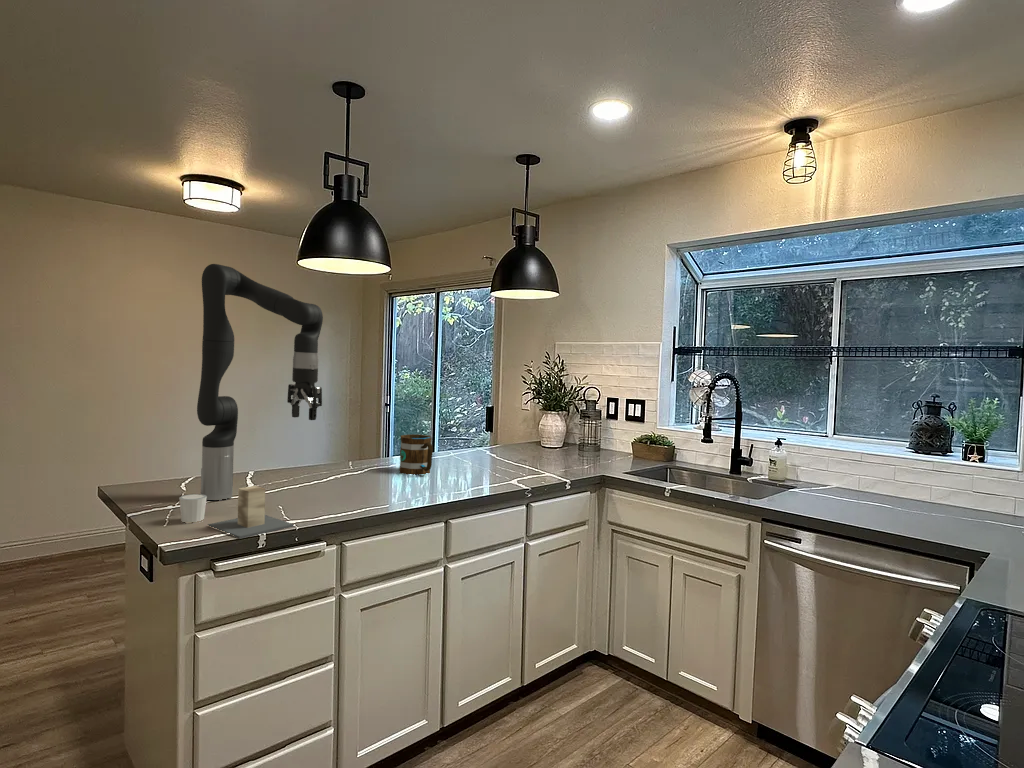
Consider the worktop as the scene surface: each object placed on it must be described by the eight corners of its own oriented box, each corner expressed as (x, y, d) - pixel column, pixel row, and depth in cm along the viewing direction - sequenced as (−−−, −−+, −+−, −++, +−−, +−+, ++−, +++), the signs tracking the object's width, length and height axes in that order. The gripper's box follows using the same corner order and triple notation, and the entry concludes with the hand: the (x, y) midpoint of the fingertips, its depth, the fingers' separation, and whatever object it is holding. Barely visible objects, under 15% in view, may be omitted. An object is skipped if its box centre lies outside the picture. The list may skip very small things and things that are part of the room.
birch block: (237, 524, 167) (238, 488, 167) (254, 520, 171) (255, 485, 171) (247, 527, 164) (248, 491, 164) (264, 524, 169) (265, 488, 168)
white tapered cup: (210, 518, 174) (211, 494, 174) (199, 524, 167) (199, 499, 167) (186, 517, 174) (186, 493, 173) (173, 523, 167) (174, 498, 167)
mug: (392, 470, 255) (394, 435, 255) (420, 467, 264) (422, 433, 263) (415, 479, 240) (416, 441, 239) (444, 476, 248) (445, 440, 248)
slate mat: (207, 526, 166) (207, 524, 166) (260, 515, 179) (260, 513, 179) (239, 538, 157) (239, 536, 157) (293, 526, 170) (293, 524, 170)
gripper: (281, 365, 189) (279, 417, 190) (309, 368, 181) (307, 421, 182) (301, 366, 195) (300, 415, 196) (329, 368, 187) (328, 420, 188)
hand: (303, 418), depth 189 cm, fingers open, 8 cm apart
